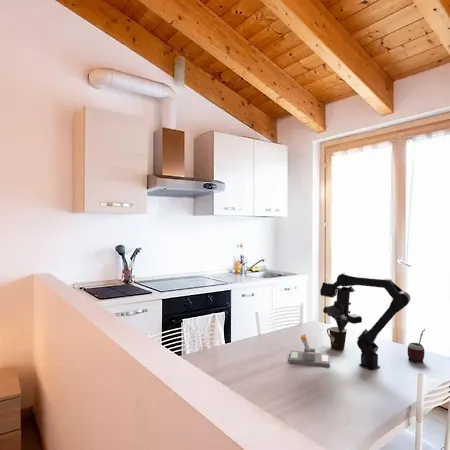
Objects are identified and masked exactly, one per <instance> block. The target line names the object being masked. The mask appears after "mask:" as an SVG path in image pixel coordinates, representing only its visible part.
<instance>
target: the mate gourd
mask: <svg viewBox="0 0 450 450" xmlns="http://www.w3.org/2000/svg"><path fill="white" fill-rule="evenodd" d="M425 331H426V328H424V329H423V330H422V331H421V333H420V336H419V337H420V338H419V341H418V342H410V343H408V345H407V357H408V358H407V359H408V360H407V361H411V362H414V364H418V363H422V364H423V363H424V359H425V348H424V345H423V344H421V342H422V337H423V333H424V332H425Z"/></svg>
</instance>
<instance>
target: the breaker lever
mask: <svg viewBox="0 0 450 450" xmlns="http://www.w3.org/2000/svg"><path fill="white" fill-rule="evenodd" d="M300 340H301V342H302V343H303V346H304V347H305V349H306V352H311V350H310V348H311V347H310V345H309V342H308V337H307V335H306V334H302V335H300Z"/></svg>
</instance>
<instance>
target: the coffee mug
mask: <svg viewBox="0 0 450 450" xmlns="http://www.w3.org/2000/svg"><path fill="white" fill-rule="evenodd" d="M326 333H327V335H328V337H329V341H330V348H331V350H333V351H337V352H343V351H345V346H346V338H347V329H346V327H345V328H344V330H343V331H342V332H341V333H340V332H339V330H338V326H331V327H330V326H329V328H327V329H326Z"/></svg>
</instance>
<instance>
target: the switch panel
mask: <svg viewBox="0 0 450 450" xmlns="http://www.w3.org/2000/svg"><path fill="white" fill-rule="evenodd" d="M310 350H311V352H306V349H305V346H304V348H303V351H301V350H290V354H289V359H288V360H289V361H288V364H295V365H296V364H298V365H306V366H316V367H324V368H330V367H331V366H330V365H331V361H330V354H329V353H323V352H316V348H315V347H310Z"/></svg>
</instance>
